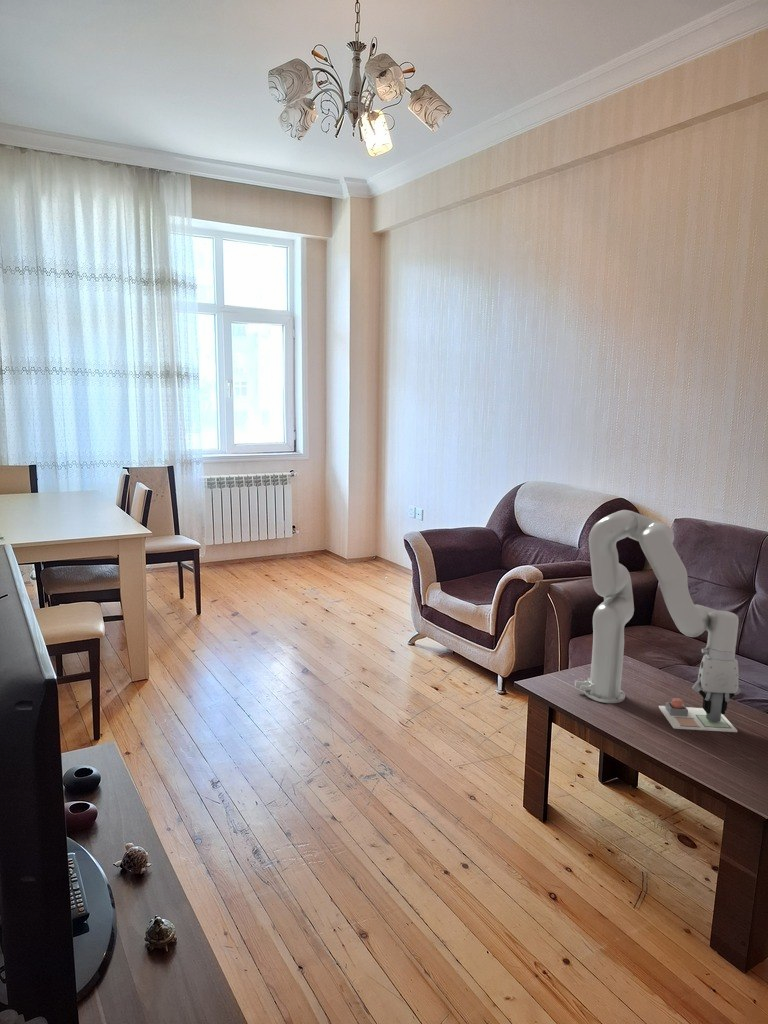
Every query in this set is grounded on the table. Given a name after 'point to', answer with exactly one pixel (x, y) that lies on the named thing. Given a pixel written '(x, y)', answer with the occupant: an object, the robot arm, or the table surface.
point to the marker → (715, 707)
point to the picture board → (694, 719)
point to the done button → (677, 703)
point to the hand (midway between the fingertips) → (714, 711)
